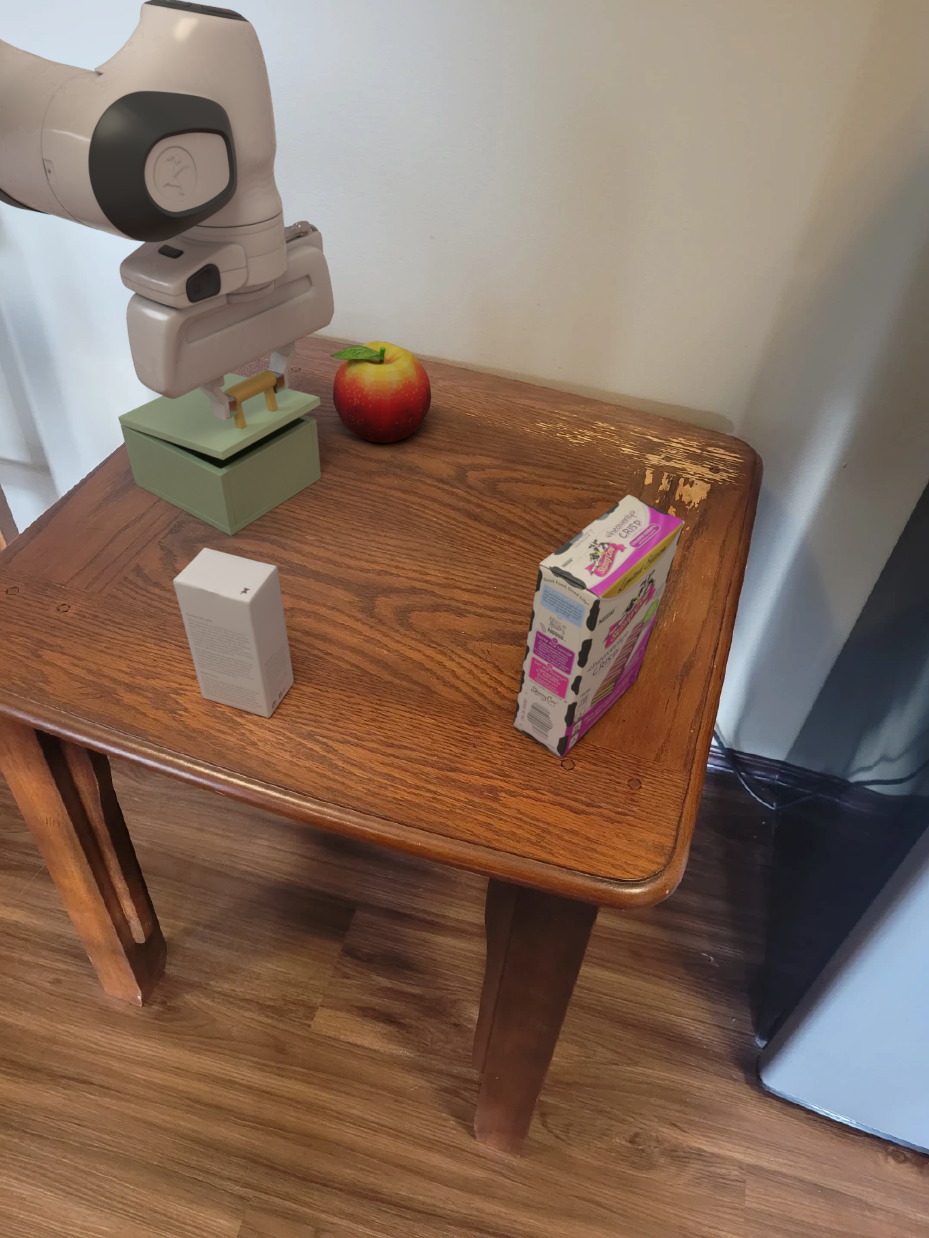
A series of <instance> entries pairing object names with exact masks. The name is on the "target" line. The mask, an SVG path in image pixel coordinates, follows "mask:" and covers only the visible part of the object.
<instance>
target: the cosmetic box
mask: <svg viewBox="0 0 929 1238" xmlns="http://www.w3.org/2000/svg"><path fill="white" fill-rule="evenodd" d="M280 583H281V582H280V576H279V569H278V566H277V565H274V564H270V563H266V562H262V561H257V560H254V559H250V558H246V557H242V556H238V555H234V554H231V553H227V552H223V551H220V550H216V549H211V548H208V547H204V548H202V550H201V551H200V552H199V553H198V554H196V556H195V557H194V558H193V559H192V560H191V561H190V562H189V563H188V564H187V566H185V568H183V570H181V571H180V572H179V573H178V575H176V576H175V577H174V578H173V579H172V584H173V587H174V591H175V595H176V598H177V603H178V607H179V610H180V614H181V619H182V622H183V626H184V630H185V635H186V638H187V639H186V640H187V642H188V647H189V650H190V654H191V658H192V662H193V666H194V671H195V675H196V678H197V683H198V686H199V691H200V695H201V697H202V699H205V700H208V701H212V702H215V703H218V704H222V705H224V706H228V707H230V708H235V709H238V710H241V711H244V712H247V713H251V714H254V715H257V716H260V717H264V718H266V719H269V718H270V717H271V716H272V715H273V713H274V712H275V711H276V709H277V708H278V706H279V705H280V703H281V701H282V700H283V699H284V697H285V696H286V695H287V693H288V692H289V690H290V689H291V687H292V686H293V684H294V683H295V679H294V673H293V666H292V665H293V664H292V658H291V653H290V645H289V639H288V638H289V637H288V630H287V625H286V618H285V611H284V610H285V609H284V605H283V597H282V590H281V584H280Z"/></svg>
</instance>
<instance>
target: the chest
mask: <svg viewBox="0 0 929 1238" xmlns="http://www.w3.org/2000/svg"><path fill="white" fill-rule="evenodd" d="M120 429H121V433H122V437H123V440H124V441H123V442H124V444H125V445H124V446H125V449H126V451H127V457H128V461H129V463H130V467H131V472H132V475H133V479H134V483H135V485H136V486H137V487H140V488H142V489H143V490H145V491H147V492H149V493H151V494H153V495H154V496H156V497H158V498H160V499H162V500H164V501H165V502H167V503H169V504H170V505H173V506H174V507H177V508H178V509H180V510H182V511H184V512H186V513H187V514H189V515H191V516H194V517H195V518H197V519H198V520H200V521H202V522H204V523H206V524H208V525H210V526H212V527H214V528H215V529H217V530H219V531H221V532H223V533H225V534H227V535H228V536H231V537H232V536H234V535H235V534H237V533H238V532H239V531H241V530H243V529H244V528H246V527H248V526H249V525H251V524H252V523H254V522H255V521H257V520H258V519H260V518H261V517H263V516H265V515H266V514H267V513H269V512H270V511H273V510H274V509H276V508H277V507H278V506H280V505H282V504H283V503H285V502H286V501H288V500H289V499H291V498H293V497H294V496H296V495H297V494H299V493H300V492H302V491H303V490H305V489H307V488H308V487H309V486H311V485H313V484H314V483H316V482H317V481H319V480H320V479H321V478H322V473H321V460H320V448H319V437H318V436H319V435H318V434H319V433H318V424H317V419H315V418H312V417H310V416H308V415H305V414H303V415H302V416H300V417H298V418H296V419H294V420H293V421H291V422H289V423H287V424H286V425H284V426H282V427H280V428H279V429H277V430H275V431H273V432H272V433H270V434H268V435H266V436H264V437H263V438H261V439H259V440H257V441H256V442H254V443H252V444H250V445H249V446H247V447H245V448H243V449H241V450H240V451H238V452H236V453H234V454H233V455H231V456H229V457H227V458H226V459H224V460H222V459H219V458H216V457H213V456H210V455H207V454H205V453H202V452H199V451H196V450H193V449H190V448H187V447H184V446H181V445H178V444H176V443H173V442H170V441H167V440H164V439H161V438H158V437H155V436H152V435H149V434H147V433H144V432H141V431H138V430H135V429H132V428H129V427H126V426H123V425H121V424H120Z"/></svg>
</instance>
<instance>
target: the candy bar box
mask: <svg viewBox="0 0 929 1238" xmlns="http://www.w3.org/2000/svg"><path fill="white" fill-rule="evenodd" d="M685 524H686V522H685V520H683V519H681V518H679V517H678V516H675V515H673V514H671V513H669V512H666V511H665V510H663V509H660V508H658V507H656V506H654V505H651V504H649V503H647V502H646V501H643V500H642V499H639V498H638V497H635V496H633V495H630V494H627V495H626V496H625V497H623V498H622V499H621V500H619V501H618V502H617V503H616V504H614V505H612V507H610V508H609V509H608V510H606V511H605V512H604V513H603V514H602V515H600V516H598V518H596V519H595V520H593V521H592V522H591V523H590V524H588V525H587V526H586V527H585V528H583V529H582V530H580V531H579V532H578V533H576V535H574V536H572V537H571V538H570V539H569V540H568V541H566V542H565V543H564V544H562V545H561V546H559V548H557V549H556V550H554V551H553V552H552V553H550V555H548V556H547V557H545V559H543V560H542V561H541V562H539V563H538V572H537V578H536V585H535V590H534V597H533V602H532V609H531V614H530V616H531V617H530V621H529V627H528V631H527V632H528V634H527V639H526V647H525V653H524V654H525V655H524V658H523V664H522V671H521V677H520V684H519V690H518V694H517V701H516V706H515V713H514V718H513V719H514V720H513V724H512V726H513V727H514V728H515V729H516V730H518V732H519V731H520V733H522V734H523V735H525V736H527V737H528V738H530V739H531V740H532V741H534V742H536V743H537V744H539V745H540V746H541V747H543V748H544V749H546V750H547V751H548V752H550V753H551V754H553V755H554V756H556V757H558V758H559V759H564V757H565V756H566V755H567V754H568V753H569V752H571V750H572V749H573V748H574V747H575V745H576V744H577V743H578V742H579V741H580V740H581V739H582V738H583V737H584V736H585V735H586V734H587V733H588V732H589V731H590V730H591V729H592V727H593V726H594V725H596V723H597V722H598V721H599V720H600V719H601V718H602V717H603V716H604V715H605V714H606V713H607V712H608V711H609V710H610V709H611V708H612V707H613V706H614V704H616V703H617V701H618V700H619V699H620V698H621V697H622V696H623V695H624V694H626V692H627V691H628V690H629V689H630V688H631V687H632V686H633V685H634V684H635V683H636V682H637V680H638V679H639V675H640V672H641V668H642V666H643V662H644V659H645V655H646V652H647V649H648V645H649V642H650V639H651V635H652V632H653V628H654V624H655V622H656V618H657V615H658V611H659V608H660V604H661V602H662V598H663V595H664V592H665V589H666V586H667V583H668V579H669V575H670V572H671V570H672V566H673V563H674V559H675V556H676V552H677V549H678V545H679V542H680V540H681V535H682V533H683V530H684V526H685Z"/></svg>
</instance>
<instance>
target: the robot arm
mask: <svg viewBox="0 0 929 1238" xmlns="http://www.w3.org/2000/svg"><path fill="white" fill-rule="evenodd" d="M139 13H140V14H139V21H138V23H137V24H136V27H135V28H134V30H133V31H132V33H131V35H130V36H129V38H128V39H127V41H126V42H125V43H124V44H123V45H122V47H121V48H119V50H118V51H116V53H114V54H113V56H111V57H110V58H108V59H107V60H106V61H105V62H104V63H102V64H101V65H98V66H97V67H94V70H93V69H87V68H84V67H80V66H75V65H72V64H71V65H70V64H67V63H62V62H57V61H55V60H51V59H48V58H45V57H43V56H40V55H37V54H34V53H31V52H29V51H27V50H24V49H21V48H19V47H16V46H14V45H12V44H10V43H8V42H6V41H5V40H3V39H1V38H0V202H1V203H4V204H6V205H8V206H11V207H13V208H16V209H20V210H25V211H28V212H29V211H30V212H34V213H40V214H44V215H49V216H53V217H54V216H55V217H57V218H60V219H62V220H66V221H69V222H72V223H74V224H78V225H81V226H84V227H86V228H87V227H88V228H90V229H93V230H96V231H101V232H104V233H106V234H110V235H112V236H116V237H119V238H122V239H125V240H129V241H135V242H142V244H141V245H140V246H139V247H137V248H136V249H135V250H133V251H132V252H131V253H130V254H128V255H127V256H126V257H125V258H123V260H122V261H121V262H120V265H119V275H120V280H121V283H122V284H123V286H124V287H125V288H127V289H128V290H130V291H132V292H134V293H133V295H132V296H131V297H130V299H129V300H128V303H127V307H126V315H125V317H126V320H125V321H126V329H127V336H128V337H127V338H128V343H129V349H130V355H131V359H132V363H133V368H134V371H135V374H136V375H135V376H136V377H137V379H138V381H139V382H140V384H142V385H143V386H144V387H146V388H147V389H149V390H151V391H152V392H155V393H156V394H158V395H160V396H165V397H167V398H170V399H176V398H178V397H181V396H183V395H185V394H187V393H189V392H191V391H193V390H195V389H197V388H200V389H201V390H202V391H203V392H204V393H205V394H206V396H207V397H208V398H210V401H211V407H212V412H213V414H214V415H215V417H217V418H219V419H221V420H223V421H226V420H228V419H230V418H232V417H234V416H235V415H237V414H238V409H237V399H236V398H235V397H233V396H228V394H226V393H224V392H222V390H221V389H220V387H222V386H224V384H225V383H224V375H226V374H228V373H233V372H234V371H237V370H238V369H241V368H243V367H245V366H247V365H249V364H251V363H253V362H255V361H258V360H260V359H261V358H264V357H266V356H268V355H270V354H271V355H270V360H269V364H268V368H267V369H268V370H270V371H272V372H273V374H274V375H275V378H276V384H275V386H273V389H274V393H275V394H277V393H279V392H281V391H283V390H285V389H287V388H288V389H289V386H290V382H289V373H288V372H290V368H291V365H292V362H293V360H294V356H295V354H296V343H295V342H297V341H299V340H301V339H303V338H305V337H307V336H310V335H311V334H314V333H315V332H318V331H319V330H320V331H321V330H322V329H324V328H326V327H328V326H329V325H330V324H331V322H332V319H333V316H334V314H335V301H334V293H333V286H332V281H331V276H330V270H329V267H328V265H329V264H328V261H327V259H326V256H325V255H324V244H323V243H324V242H323V235H322V232H321V231H319V229H318V228H317V226H316V225H314V224H312V223H310V222H309V221H307V220H300V221H297V222H294V223H293V224H292V225H289V226H285V222H284V221H285V220H284V218H285V217H284V207H283V206H284V205H283V201H282V197H281V194H280V191H279V189H278V186H277V183H276V178H275V161H276V155H277V147H278V146H277V145H278V144H277V131H276V123H275V115H274V114H275V113H274V106H273V105H274V104H273V97H272V92H271V86H270V79H269V74H268V73H269V72H268V69H267V68H268V67H267V64H266V60H265V55H264V52H263V48H262V45H261V41H260V39H259V37H258V36H259V35H258V33H257V32H256V29H255V27H254V25H253V24H252V22H251V21H249V20H248V19H247V18H245V17H244V16H243V15H242V14H241V13H239V12H237V11H235V10H233V9H230V8H224V7H218V6H213V5H206V4H200V3H195V2H191V1H184V0H146V1H144V2H143V3H142V4H141V6H140V12H139Z"/></svg>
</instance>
